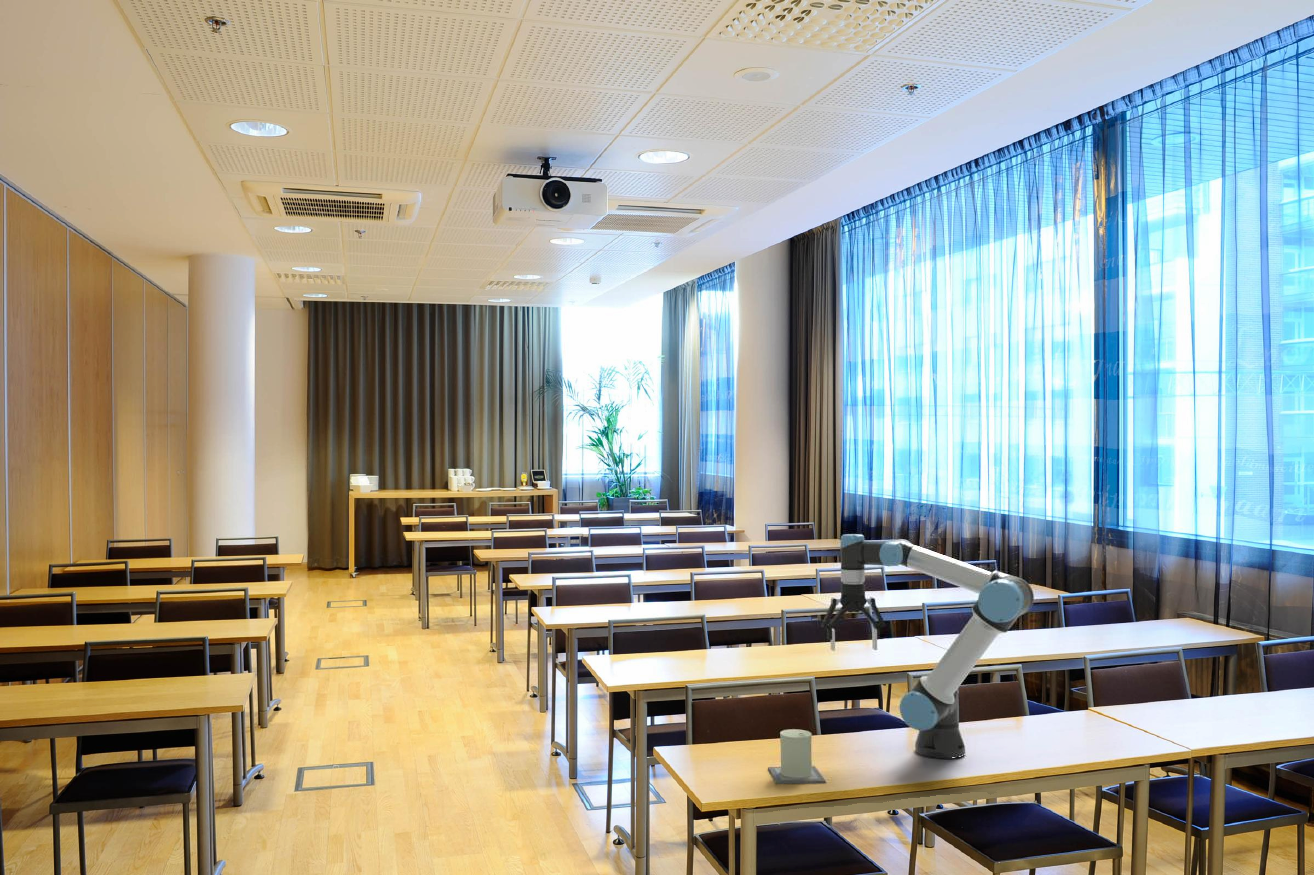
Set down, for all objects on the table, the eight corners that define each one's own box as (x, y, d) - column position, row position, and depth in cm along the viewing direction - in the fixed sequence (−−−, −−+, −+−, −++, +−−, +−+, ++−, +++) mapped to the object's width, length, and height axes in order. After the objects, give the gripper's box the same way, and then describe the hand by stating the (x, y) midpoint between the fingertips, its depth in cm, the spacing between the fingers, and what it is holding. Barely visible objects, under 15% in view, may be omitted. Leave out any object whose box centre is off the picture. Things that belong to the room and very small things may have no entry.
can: (796, 780, 267) (795, 737, 267) (773, 772, 274) (773, 730, 275) (819, 774, 272) (818, 732, 273) (796, 766, 279) (796, 725, 280)
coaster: (814, 768, 280) (814, 765, 280) (825, 782, 266) (825, 780, 266) (768, 769, 280) (768, 766, 280) (776, 784, 266) (776, 781, 266)
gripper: (887, 581, 305) (888, 646, 304) (811, 581, 304) (812, 648, 303) (894, 583, 298) (895, 651, 297) (817, 584, 296) (817, 652, 295)
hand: (853, 649), depth 300 cm, fingers open, 13 cm apart
